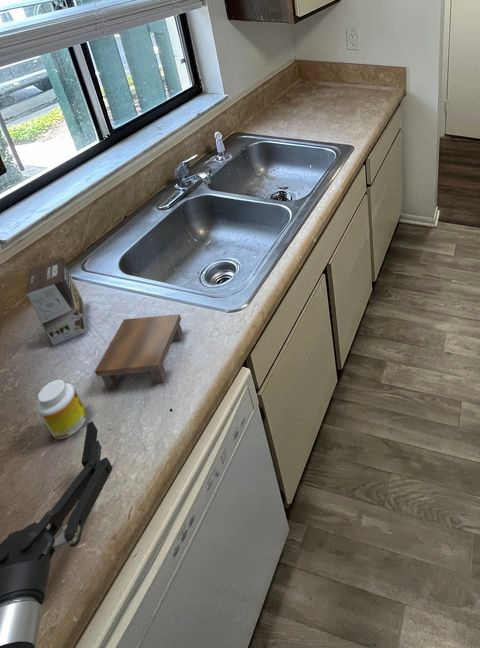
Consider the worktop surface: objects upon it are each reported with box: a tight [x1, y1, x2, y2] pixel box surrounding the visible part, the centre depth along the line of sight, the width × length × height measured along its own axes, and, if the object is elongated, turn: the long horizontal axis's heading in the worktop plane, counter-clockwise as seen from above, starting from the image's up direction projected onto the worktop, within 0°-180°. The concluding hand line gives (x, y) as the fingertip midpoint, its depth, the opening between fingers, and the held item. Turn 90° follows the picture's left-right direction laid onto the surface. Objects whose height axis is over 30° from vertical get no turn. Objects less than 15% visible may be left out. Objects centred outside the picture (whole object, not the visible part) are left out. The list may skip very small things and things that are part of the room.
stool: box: [94, 313, 184, 389], centre depth 93 cm, size 12×12×6 cm
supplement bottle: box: [36, 379, 88, 440], centre depth 81 cm, size 6×6×10 cm
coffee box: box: [26, 256, 86, 346], centre depth 99 cm, size 9×6×16 cm
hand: (44, 447), depth 72 cm, fingers open, 13 cm apart
